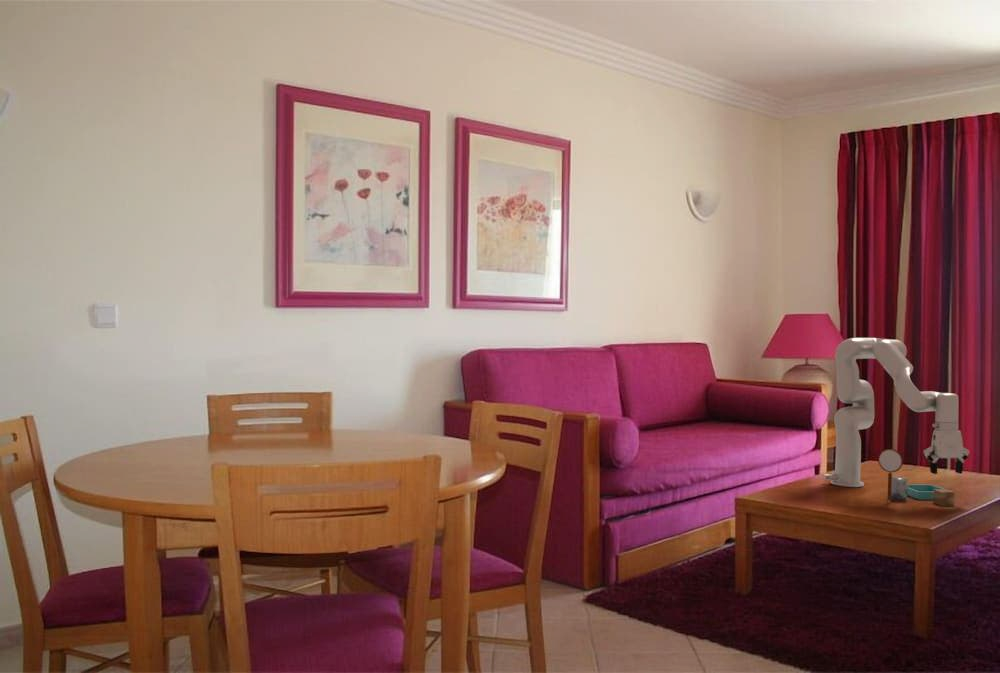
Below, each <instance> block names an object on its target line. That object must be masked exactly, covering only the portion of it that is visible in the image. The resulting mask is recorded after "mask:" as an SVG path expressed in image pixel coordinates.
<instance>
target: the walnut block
mask: <svg viewBox="0 0 1000 673" xmlns="http://www.w3.org/2000/svg"><path fill="white" fill-rule="evenodd" d="M955 497H956V496H955V491H954V490H953V491H952V490H949V489H946V488H943V489H934V498H933V500H932V501H933V502H932V503H934V504H937V505H939V506H955Z"/></svg>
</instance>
